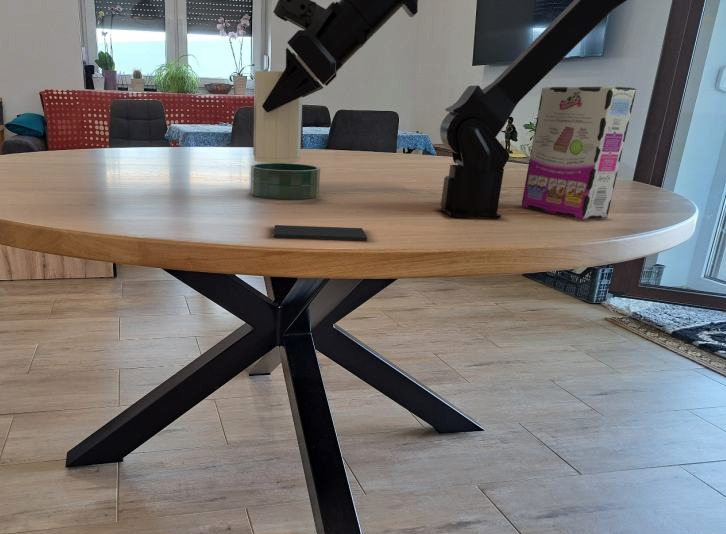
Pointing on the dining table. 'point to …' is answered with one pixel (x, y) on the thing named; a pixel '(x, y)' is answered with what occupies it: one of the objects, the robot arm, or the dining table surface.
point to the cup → (275, 124)
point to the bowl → (285, 181)
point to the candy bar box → (577, 150)
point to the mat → (319, 233)
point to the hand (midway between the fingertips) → (267, 108)
